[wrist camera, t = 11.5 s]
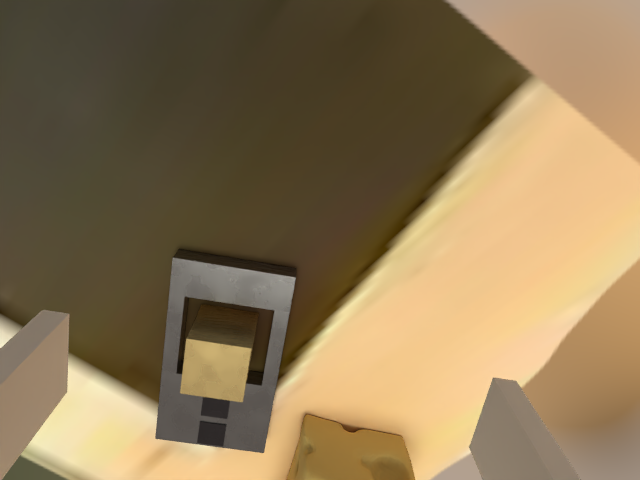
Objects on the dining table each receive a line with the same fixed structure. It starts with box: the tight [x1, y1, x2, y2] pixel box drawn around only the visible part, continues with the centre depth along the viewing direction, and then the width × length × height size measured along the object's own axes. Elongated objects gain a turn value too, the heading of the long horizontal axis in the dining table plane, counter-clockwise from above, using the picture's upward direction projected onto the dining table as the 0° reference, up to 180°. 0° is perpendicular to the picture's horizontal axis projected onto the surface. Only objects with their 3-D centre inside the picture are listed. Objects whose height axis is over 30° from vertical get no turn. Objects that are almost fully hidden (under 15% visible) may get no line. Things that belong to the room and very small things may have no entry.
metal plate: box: [155, 249, 296, 453], centre depth 45 cm, size 18×10×2 cm, turn 170°
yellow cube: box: [180, 304, 259, 402], centre depth 42 cm, size 5×5×6 cm
